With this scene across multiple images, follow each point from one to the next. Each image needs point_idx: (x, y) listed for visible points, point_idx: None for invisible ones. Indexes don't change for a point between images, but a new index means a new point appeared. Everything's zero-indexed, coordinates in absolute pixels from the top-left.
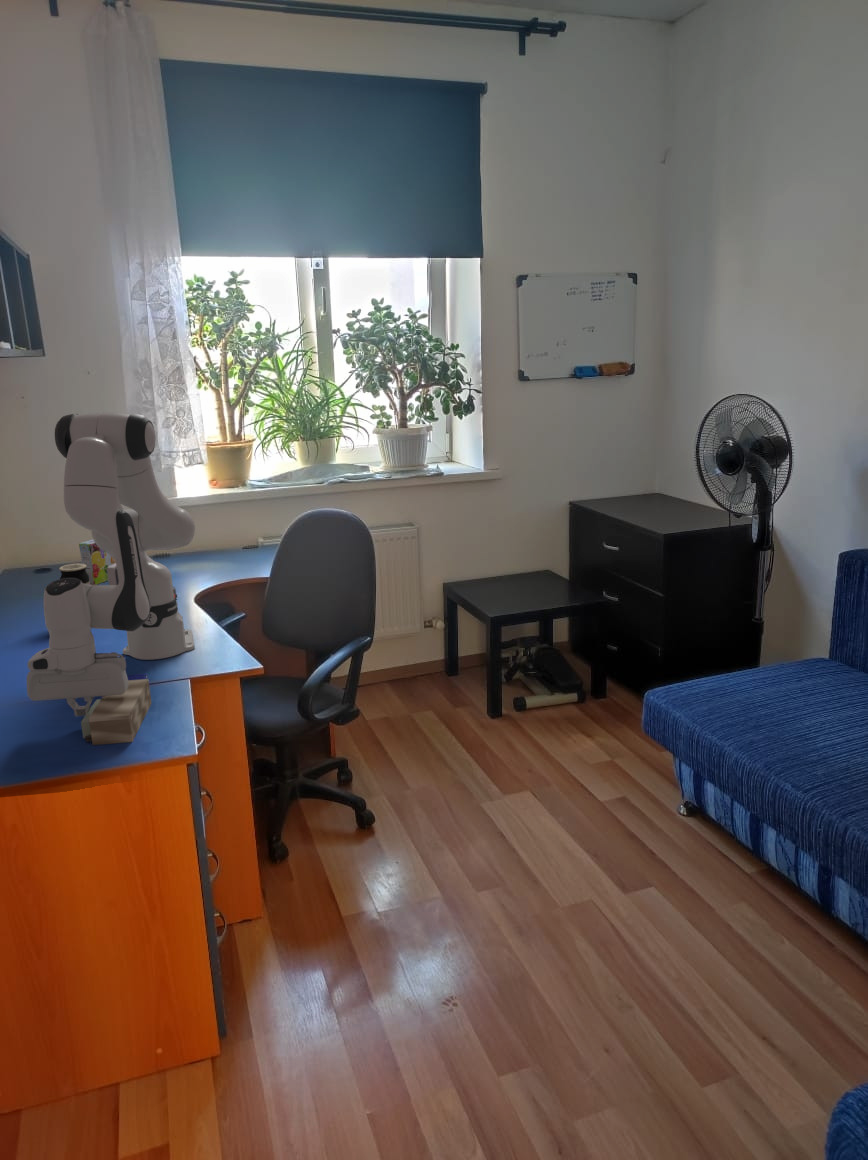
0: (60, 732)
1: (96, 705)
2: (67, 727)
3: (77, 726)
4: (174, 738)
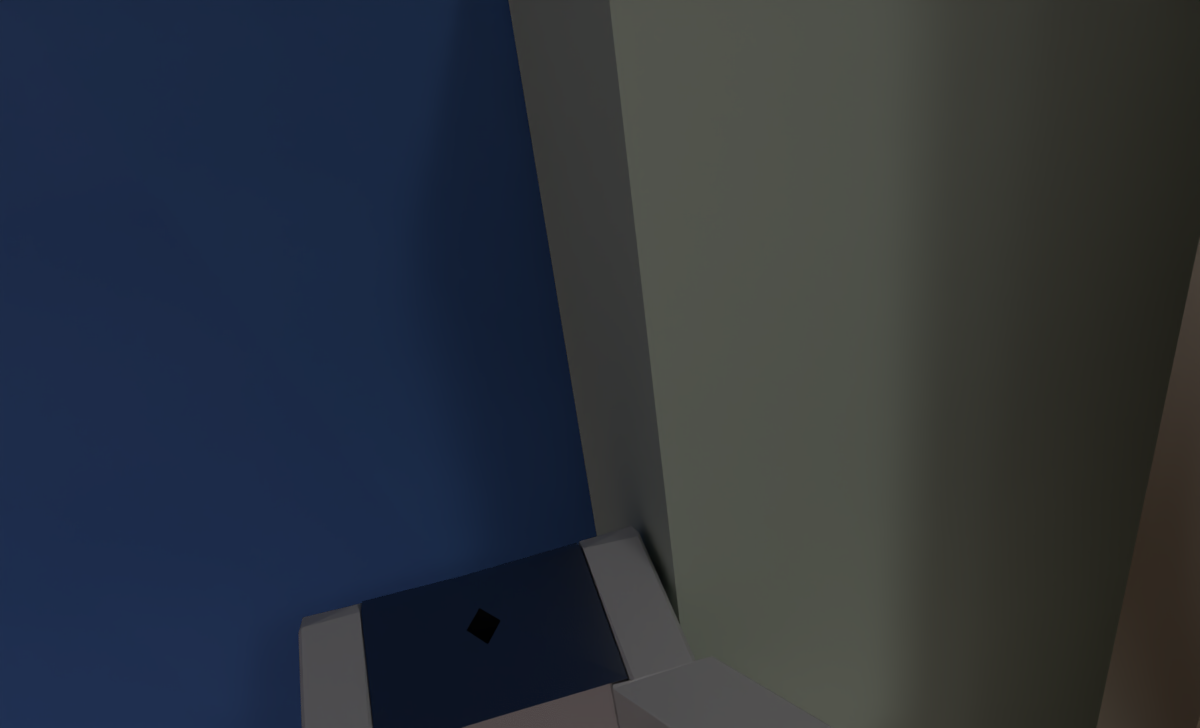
0: (116, 704)
1: (780, 430)
2: (105, 538)
3: (299, 477)
4: None
